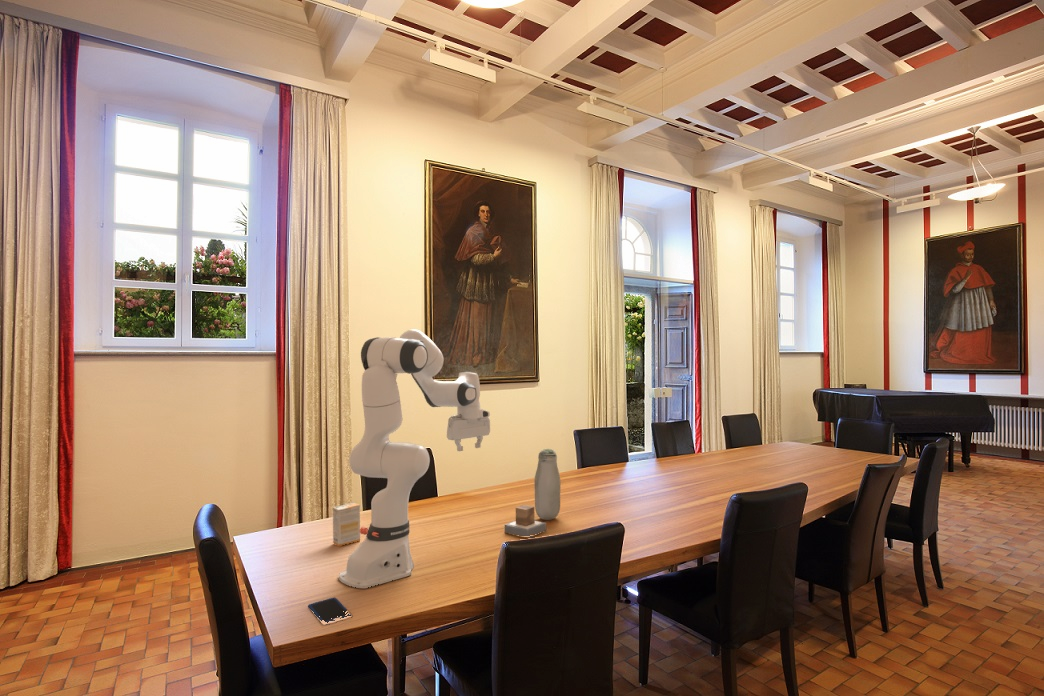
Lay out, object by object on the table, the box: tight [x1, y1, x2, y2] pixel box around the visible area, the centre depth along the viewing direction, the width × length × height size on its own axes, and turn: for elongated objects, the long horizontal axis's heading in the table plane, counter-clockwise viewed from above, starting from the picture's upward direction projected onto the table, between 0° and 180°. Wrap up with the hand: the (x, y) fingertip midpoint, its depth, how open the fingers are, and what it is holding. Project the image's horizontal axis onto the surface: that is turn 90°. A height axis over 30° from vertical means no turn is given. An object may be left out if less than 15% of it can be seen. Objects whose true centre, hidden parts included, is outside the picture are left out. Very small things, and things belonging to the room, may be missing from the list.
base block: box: [504, 520, 547, 539], centre depth 200 cm, size 11×11×3 cm
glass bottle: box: [534, 448, 561, 521], centre depth 216 cm, size 10×10×28 cm
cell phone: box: [307, 597, 351, 623], centre depth 138 cm, size 7×14×1 cm, turn 38°
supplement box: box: [332, 502, 361, 547], centre depth 190 cm, size 8×5×13 cm, turn 135°
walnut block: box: [515, 504, 536, 526], centre depth 200 cm, size 5×5×6 cm
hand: (469, 449), depth 207 cm, fingers open, 8 cm apart
